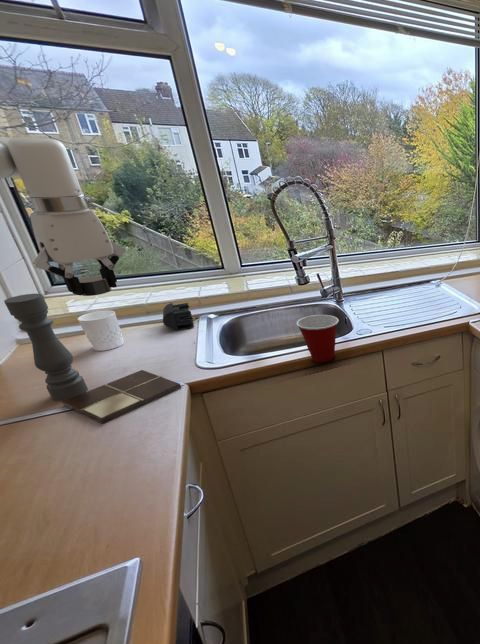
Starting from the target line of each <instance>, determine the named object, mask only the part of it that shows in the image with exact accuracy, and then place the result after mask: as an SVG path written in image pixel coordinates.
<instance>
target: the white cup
mask: <svg viewBox="0 0 480 644" xmlns="http://www.w3.org/2000/svg"><path fill="white" fill-rule="evenodd" d="M77 321H78V323H79V326H80V327H81V329H82V331H83V333H84V334H85V336H86V339H87V340H88V342H89V343H90V345H91V346H92V349H93V350H94V351H98V352H102V351H109V350H113V349H116V348H119V347H120V346H122V345H123V344H124V343H125V340H124V338H123V335H122V334H123V333H122V330H121V326H120V324H119V321H118V317H117V314H116V312H115V310H108V309H107V310H105V309H104V310H96V311H91V312H88V313H84V314H82V315H80V316H78V317H77Z"/></svg>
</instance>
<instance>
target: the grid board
mask: <svg viewBox="0 0 480 644" xmlns="http://www.w3.org/2000/svg"><path fill="white" fill-rule="evenodd" d="M181 388H182V385H181V383H179V382H176V381H174V380H172V379H168V378H166V377H163V376H161V375H157V374H154V373H152V372H149V371H146V370H143V369H142V370H138V371H135V372H133V373H130V374H128V375H126V376H123V377H121V378H118V379H115V380H112V381H111V382H110V381H109V382H108V383H104V384H103V385H101V386H97V387H96V388H93V389H90V390H87V391H86V392H85V393H83V394H80V395H78V396H75V397H72V398H70V399H67V400H62V401H61V402H62V404H63V407H66V408H68V409H70V410H73V411H74V412H76V413H78V414H80V415H83V416H85V417H87V418H89V419H91V420H93V421H95V422H98V423H100V424H102V425H103V424H106V423H108V422H111V421H112V420H114V419H117V418H119V417H120V416H124V415H125V414H128V413H130V412H132V411H134V410H136V409H138V408H141V407H143V406H144V405H147V404H149V403H151V402H153V401H156V400H158V399H160V398H162V397H164V396H167V395H169V394H171V393H173V392H175V391H177V390H180V389H181Z"/></svg>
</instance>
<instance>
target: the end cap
mask: <svg viewBox="0 0 480 644" xmlns="http://www.w3.org/2000/svg"><path fill="white" fill-rule="evenodd" d="M162 323H163V325H164V326H165V327H166V328H168V329H170V330H174V331H184V330H188V329H194V327H195V324H194V318H193V315H192V312H191V310H190V305H189V303H188V302H185V303H178V304H174V303H173V302H169V303H168V304H166V305H165V306H164V307H163V310H162Z"/></svg>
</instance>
